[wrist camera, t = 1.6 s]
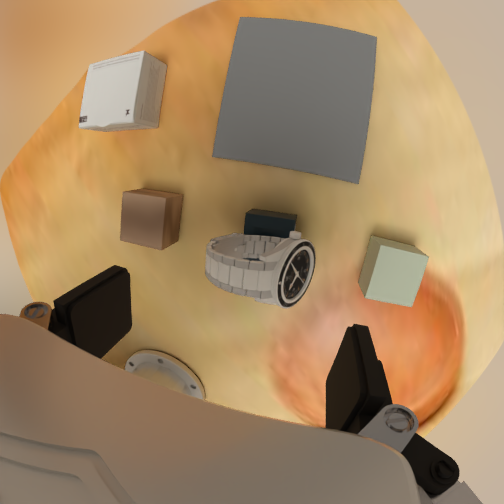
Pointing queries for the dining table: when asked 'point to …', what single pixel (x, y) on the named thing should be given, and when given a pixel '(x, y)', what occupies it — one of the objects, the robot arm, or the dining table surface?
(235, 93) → the slate mat
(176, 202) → the walnut block
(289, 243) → the watch
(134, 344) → the dining table surface
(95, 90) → the small box
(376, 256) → the sage block
